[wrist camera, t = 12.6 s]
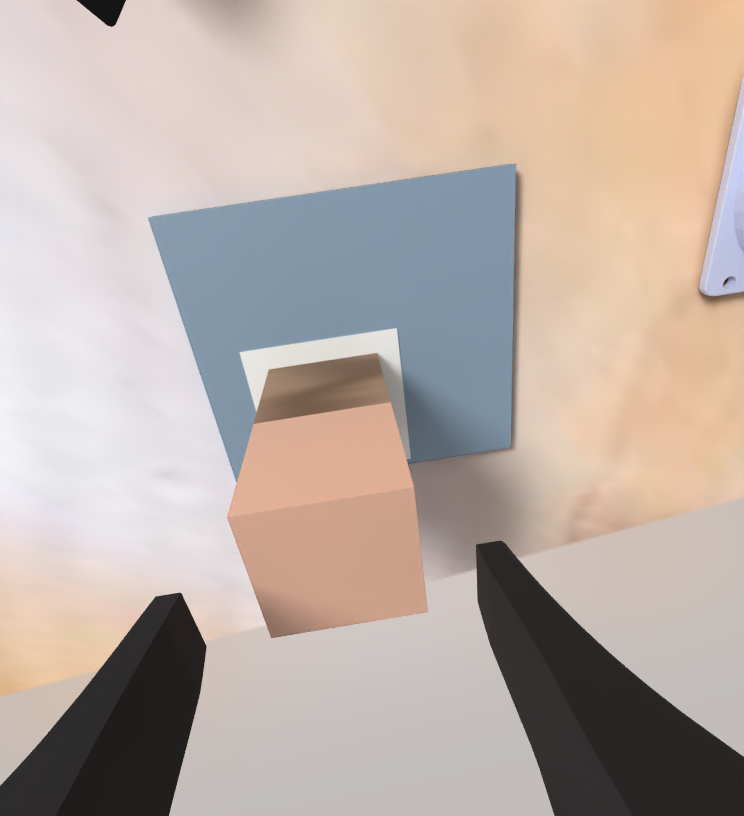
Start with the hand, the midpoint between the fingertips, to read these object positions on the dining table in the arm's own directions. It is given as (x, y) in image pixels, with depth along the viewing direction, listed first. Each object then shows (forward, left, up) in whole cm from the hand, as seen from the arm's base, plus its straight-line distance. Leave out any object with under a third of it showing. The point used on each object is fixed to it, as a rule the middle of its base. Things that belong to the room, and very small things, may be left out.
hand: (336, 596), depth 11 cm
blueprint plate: (-2, -2, -10) cm, 11 cm away
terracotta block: (0, 0, -5) cm, 5 cm away
